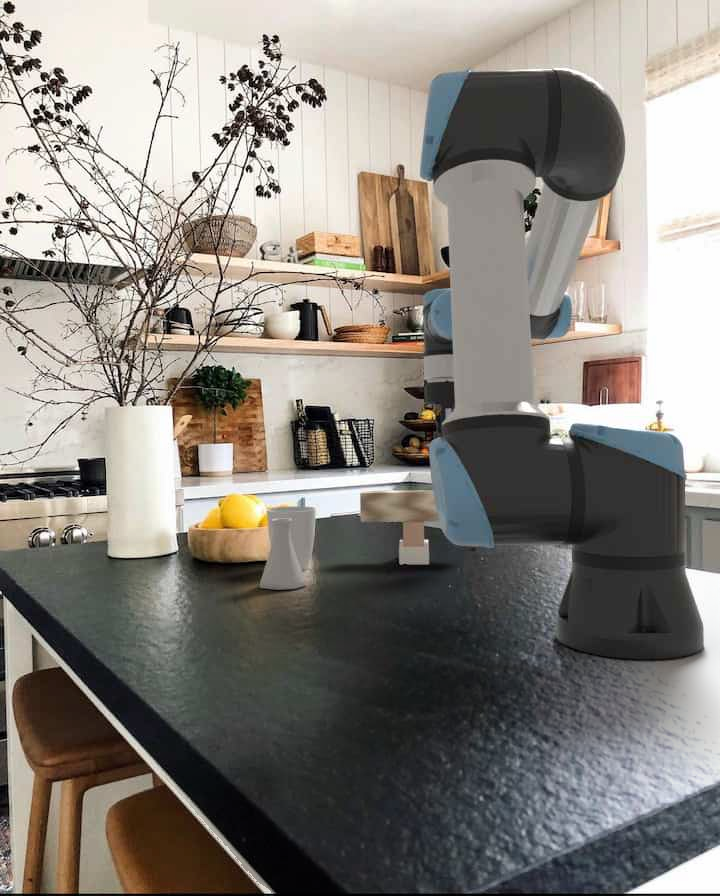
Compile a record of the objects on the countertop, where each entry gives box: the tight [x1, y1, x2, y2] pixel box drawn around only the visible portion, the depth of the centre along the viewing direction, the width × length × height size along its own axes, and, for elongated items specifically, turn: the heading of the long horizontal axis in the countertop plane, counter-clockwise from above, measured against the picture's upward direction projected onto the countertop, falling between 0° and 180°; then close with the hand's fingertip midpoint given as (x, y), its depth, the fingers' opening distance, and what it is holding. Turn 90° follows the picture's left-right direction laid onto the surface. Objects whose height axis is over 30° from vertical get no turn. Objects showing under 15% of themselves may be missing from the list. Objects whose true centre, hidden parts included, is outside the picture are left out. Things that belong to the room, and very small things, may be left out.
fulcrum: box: [398, 521, 430, 566], centre depth 142 cm, size 8×5×7 cm, turn 176°
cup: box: [266, 506, 317, 572], centre depth 136 cm, size 8×8×10 cm
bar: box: [359, 489, 440, 523], centre depth 142 cm, size 18×4×5 cm, turn 86°
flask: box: [259, 518, 307, 591], centre depth 122 cm, size 7×7×10 cm
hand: (448, 505), depth 141 cm, fingers open, 13 cm apart
